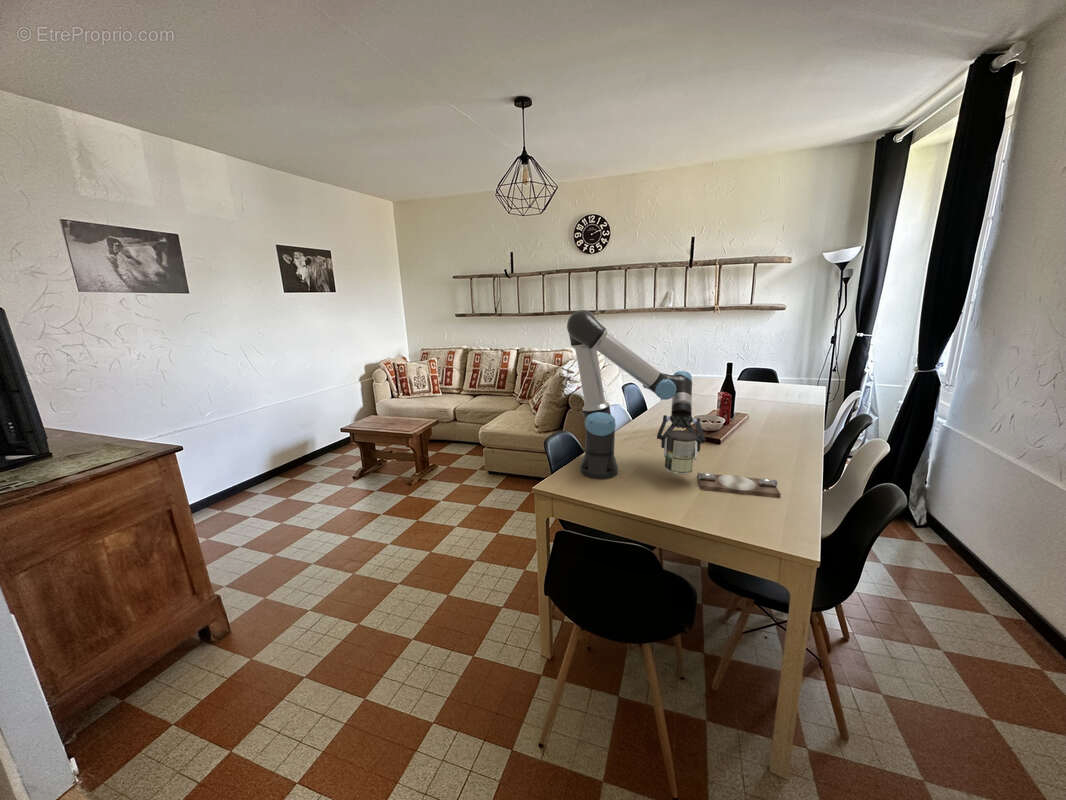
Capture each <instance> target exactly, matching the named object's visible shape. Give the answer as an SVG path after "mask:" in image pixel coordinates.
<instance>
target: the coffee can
mask: <svg viewBox="0 0 1066 800" xmlns="http://www.w3.org/2000/svg"><path fill="white" fill-rule="evenodd" d="M666 439H667V453H666V457H664V458H665V459H664V466H663V468H664V470H666V471H667V472H669V473H672V474H676V475H690V474H691V473H692V472H693V467H694V465H693V463H694V450H695V441H696V435H695V434H694V433H691V432H689V431H687V430H680V429H677V430H675V429H673V430H672V431H669V432H668V433H667V438H666Z"/></svg>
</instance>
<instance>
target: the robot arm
mask: <svg viewBox="0 0 1066 800" xmlns="http://www.w3.org/2000/svg"><path fill="white" fill-rule="evenodd" d="M566 329H567V333H568V335H569V341H570V345H571V348H573V349H574V350H575V354H576V358H577V359H576V360H577V365H578V373H579V377H580V382H581V388H582V389H581V390H582V394H583V400H584V406H582V415H583V420H584V422H583V423H584V433H585V435H584V436H585V437H584V439H585V440H584V455H583V458H582V460H581V463H580V473H581V474H582V475H583V476H585V477H587V478H592V479H598V480H604V479H605V480H606V479H611V478H614V477H616V476H618V473H619V467H618V463H617V460H616V456H615V444H616V443H615V440H616V439H615V435H616V426H617V425H616V419H615V417H614V416H613V415H612V412H611V407H610V403H609V402H607V400H606V399H605V393H604V392H605V391H604V387H603V380H602V374H601V373H602V372H601V368H600V362H599V356H598V353H600V354H601V355H603V356H604V357H605V358H607V359H608V360H610V361H611V362H612V363H613V364H615V365H616V366H617V367H619V368H620V369H622V370H623V371H624V372H625V373H627V374H628V375H629V376H631V377H632V378H634V379H635V380H637V381H638V382H639V383H640V384H641V385H642V387H643V388H644V389H647V390H650V391H651V392H652V393H654V394H655V395H656V396H657V397H658V398H659V399H661V400H666V401H667V400H670V399H671V415H670V416H668V415H666V414H664V415H663V416H662V422H661V425H660V426H659V430H658V432H657V433H656V434H657V435H656V439H657V440H660V441H661V442H660V443H661V446H660V447H661V449H663V458H665V457H666V453H667V433H668V432H669V431H673V430H675V429H676V428H677V429H680V428H682V429H686V431H688V432H691V433H694V434H695V435H696V441H695V450H694V458H693V461H697V459H698V453H700V450H701V444H705V442H706V436H705V434H704V431H703V428H702V425H701V418H699V417H697V418H694V417H692V416H693V415H692V414H693V413H692V411H693V410H692V406H693V405H692V404H693V403H692V401H693V400H692V398H693V397H692V395H693V394H692V393H693V378H692V377H693V376H692V374H691V373H690V372H688V371H686V370H681V371H680V370H678V371H676V372H674V373H673V374H668V373H664V372H663V373H662V372H660V371H659V370H658V369H656V368H655V367H654V366H652V365H651V364H650V363H648V362H647V361H646V360H644V359H643V358H642V357H640V355H637V354H636V353H635V352H633V351H632V350H631V349H629V348H628V347H627V346H626V345H625V344H623V343H622V342H620V341H619V340H618V339H616V338H615V337H614V336H613V335H611V334H610V333H608V329H607V328H606V327H605V326H603V325H602V323H600V322H599V321H598V320H597V319H596V318H595V315H594V314H593V313H592V312H590V311H588V310H587V309H586V310H585V309H583V310H582V309H581V310H580V309H579V310H577V311H575V312H573V313H572V314H571V315H570V316H569V318H568V321H567V325H566ZM669 421H670V422H671V424H670V426H668V428H667V430H666V431H664V429H665V427H666V426H667V425H666V423H668V422H669ZM692 423H693V425H695V428H696V430H694V428H693V425H692ZM696 431H697V432H696ZM663 432H664V433H663ZM662 434H663V435H662Z"/></svg>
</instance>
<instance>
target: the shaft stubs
mask: <svg viewBox="0 0 1066 800" xmlns="http://www.w3.org/2000/svg"><path fill="white" fill-rule="evenodd" d="M698 473H699V479H702V480H712V481H715V479H716V475H717V474H716V473H715V474H716V475H715V474H714V473H706V472H704V473H703V472H698ZM758 479H759V485H763V486H773V487H776V488H777V487H778V480H777V479H768V478H758Z"/></svg>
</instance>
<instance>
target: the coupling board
mask: <svg viewBox="0 0 1066 800" xmlns="http://www.w3.org/2000/svg"><path fill="white" fill-rule="evenodd" d="M699 473H700V472H697V473H696V474H697V476H696V478H697V480H698V484H699V489H700V490H701V491H703V490H704V491H711V492H712V491H713V492H720V493H721V492H723V493H730V494H731V493H733V494H739V495H740V494H742V495H749V496H750V495H751V496H758V497H759V496H761V497H770V498H779V499H780V498H781V492H780V490H779V488H777V487H773V486H763V485H759V479H760V478H757V477H756V478H755V477H746V476H742V475H741V476H740V475H734V474H716V473H715V475H716V479H715V481H712V480H702V479H699Z"/></svg>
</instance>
